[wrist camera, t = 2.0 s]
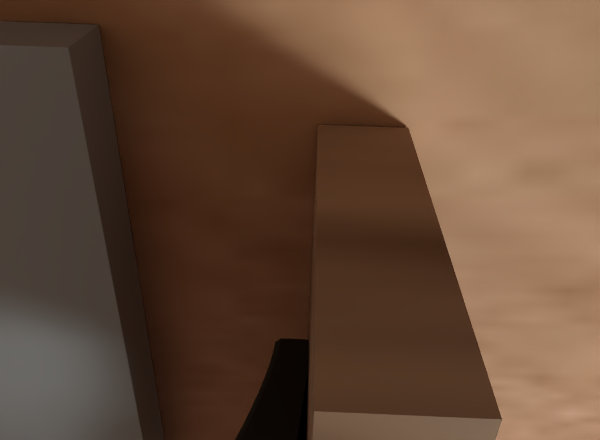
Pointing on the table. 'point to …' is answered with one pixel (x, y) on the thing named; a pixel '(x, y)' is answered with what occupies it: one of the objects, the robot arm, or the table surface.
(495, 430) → the door
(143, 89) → the table surface
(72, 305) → the hinge board
